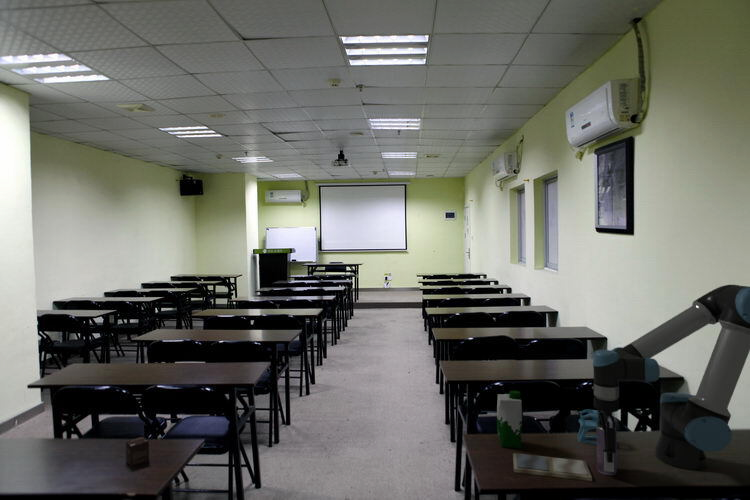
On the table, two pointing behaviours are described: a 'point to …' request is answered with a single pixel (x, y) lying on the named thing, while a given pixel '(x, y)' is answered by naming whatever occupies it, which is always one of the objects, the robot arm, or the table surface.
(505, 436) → the milk carton
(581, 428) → the chair
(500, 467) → the table surface
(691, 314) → the robot arm
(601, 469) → the beverage can
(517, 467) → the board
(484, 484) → the table surface
